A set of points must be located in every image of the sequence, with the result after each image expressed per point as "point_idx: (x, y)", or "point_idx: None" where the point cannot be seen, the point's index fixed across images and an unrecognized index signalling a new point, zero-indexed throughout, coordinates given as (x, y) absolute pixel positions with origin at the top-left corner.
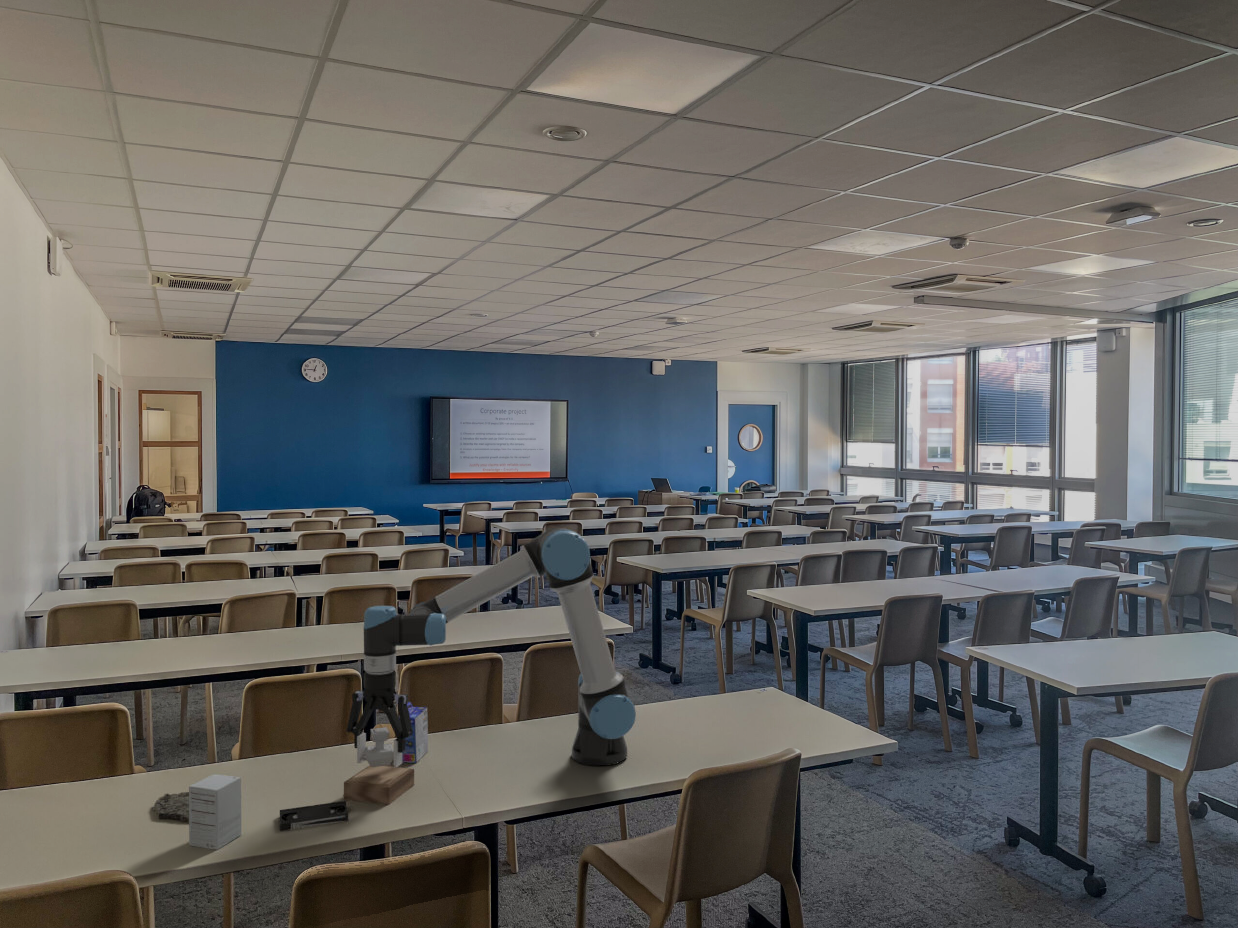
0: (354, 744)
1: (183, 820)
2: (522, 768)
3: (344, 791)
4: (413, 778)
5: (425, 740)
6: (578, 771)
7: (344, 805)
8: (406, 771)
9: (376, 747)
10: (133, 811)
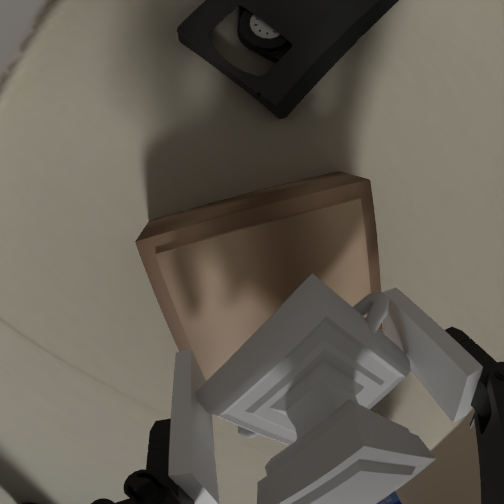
0: (465, 335)
1: None
2: (90, 492)
3: (349, 175)
4: None
5: None
6: (24, 490)
7: (254, 80)
8: None
9: (324, 386)
10: None
